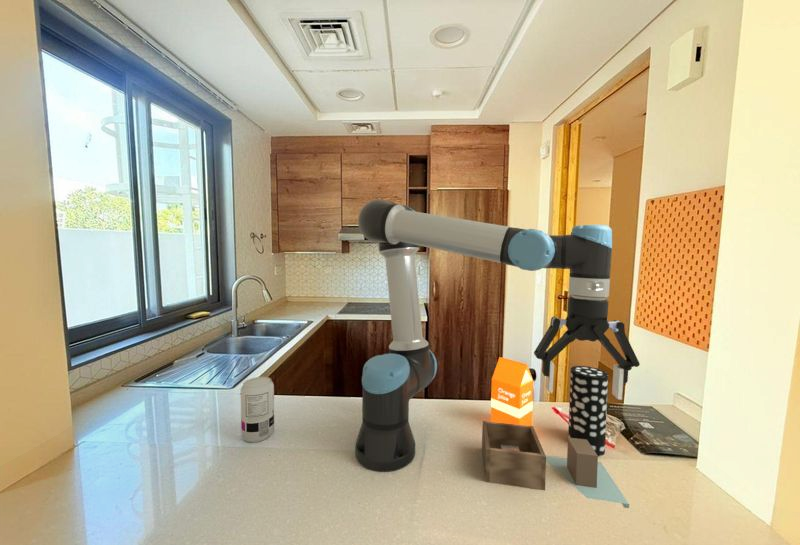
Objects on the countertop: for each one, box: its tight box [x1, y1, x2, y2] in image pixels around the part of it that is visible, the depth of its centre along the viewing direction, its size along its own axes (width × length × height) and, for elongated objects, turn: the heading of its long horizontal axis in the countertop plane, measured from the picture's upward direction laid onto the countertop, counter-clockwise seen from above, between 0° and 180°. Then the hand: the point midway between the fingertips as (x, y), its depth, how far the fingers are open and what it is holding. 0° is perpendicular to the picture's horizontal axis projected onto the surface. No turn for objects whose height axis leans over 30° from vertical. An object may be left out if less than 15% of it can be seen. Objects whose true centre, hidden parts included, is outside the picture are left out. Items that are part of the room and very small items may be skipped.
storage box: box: [481, 420, 547, 491], centre depth 72 cm, size 12×12×8 cm
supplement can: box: [240, 376, 275, 443], centre depth 85 cm, size 8×8×15 cm
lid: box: [545, 437, 630, 509], centre depth 69 cm, size 13×13×8 cm
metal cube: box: [501, 445, 520, 451], centre depth 72 cm, size 4×4×4 cm
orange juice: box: [490, 356, 534, 426], centre depth 90 cm, size 8×9×20 cm
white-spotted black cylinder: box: [567, 365, 609, 457], centre depth 81 cm, size 8×8×20 cm
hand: (582, 393), depth 68 cm, fingers open, 13 cm apart
